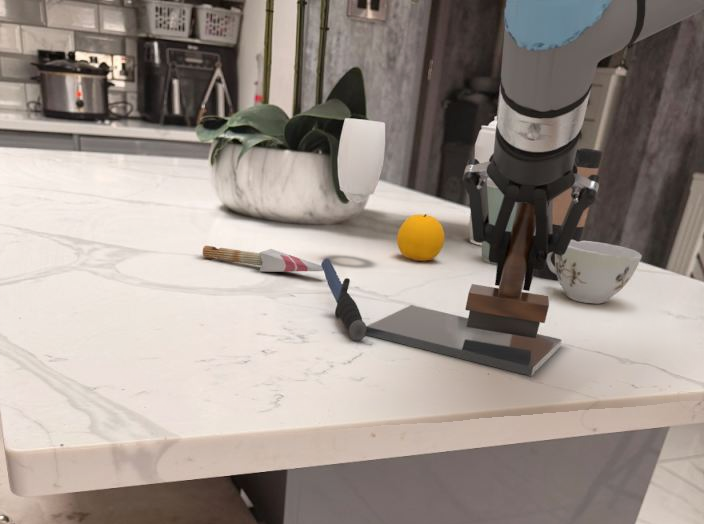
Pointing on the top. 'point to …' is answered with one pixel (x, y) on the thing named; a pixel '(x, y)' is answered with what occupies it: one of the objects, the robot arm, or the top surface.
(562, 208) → the travel mug
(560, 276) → the teacup
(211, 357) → the top surface
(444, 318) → the slate board
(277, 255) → the paintbrush
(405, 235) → the orange
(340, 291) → the knife
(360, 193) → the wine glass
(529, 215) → the brush
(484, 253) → the disposable coffee cup
